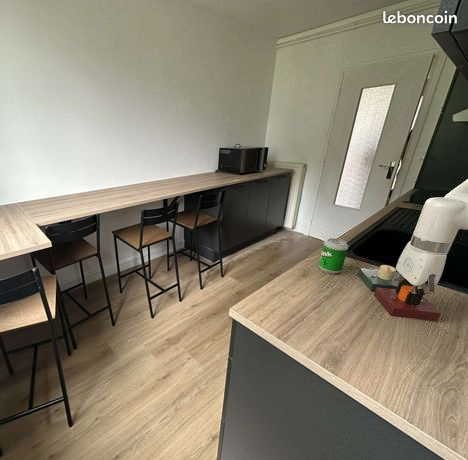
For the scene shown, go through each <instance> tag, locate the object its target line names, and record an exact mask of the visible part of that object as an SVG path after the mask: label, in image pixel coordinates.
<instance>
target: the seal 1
mask: <svg viewBox="0 0 468 460" xmlns="http://www.w3.org/2000/svg"><path fill="white" fill-rule="evenodd" d="M378 270H379V272H378V275H377V276H378V277H379V278H381V279H384V280H392V279H393V277H394V274H395V271H396V272H397V270H396V267H393V266H392V265H387V264H382V265H380V266H379V269H378Z"/></svg>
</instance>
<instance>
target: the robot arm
mask: <svg viewBox="0 0 468 460" xmlns="http://www.w3.org/2000/svg"><path fill="white" fill-rule="evenodd" d="M459 230H464V231H465V230H466V231H468V179H466V180H465V181H463V182H462V183H461V184H459V185H457V186H456V187H455V188H454V189H451V191H450V192H449V193H447V194H446V195H445V196H444V197H443V196H441V197H440V196H439V197H438V196H437V197H430V198H428V199H427V200H426V201H425V203H424V205H423V207H422V209H421V212H420V214H419V218H418V220H417V223H416V226H415V227H414V231H413V233H412V236H411V238H410V241H408V242H407V244H406V246H405V247H404V248H403V250H402V252H401V254H400V256H399V257H398V260H397V263H396V266H395V269H396V272H397V273H398V274H399V275H400V278H399V281H400V282H399V284H398V286H397V289H396V291H395V292H396V293H397V294H399V292H400V289H401V287H402V286H403V285H407V286H412V290H411V292H409V293H408V295H407V297H406V300H405V303H406V304H410V305H419V304H420V302H421V300H422V297H424V296H426V295H435V293H436V288H435V287H436V286H437V285H438V283H439V281H440V279H441V277H442V275H443V272H444V269H445V265H446V261H447V255H448V254H449V251H450V250H451V247H452V245H453V243H454V241H455V238H456V236H457V234H458V231H459ZM419 287H421V288H419Z"/></svg>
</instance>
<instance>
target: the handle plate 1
mask: <svg viewBox="0 0 468 460" xmlns="http://www.w3.org/2000/svg"><path fill="white" fill-rule="evenodd" d="M378 272H379V269H374V268H365V267H363V268H362V267H359V269H358V272H357V276H358V278H359V279H360V280H361V281H362V282H363V284H364V286H366V288H367V289H368V290H369V291H370V292H374V293H375V290H376V288H386V289H397V286H398V284H399V282H400V281H399V278H400V273H399V272H398V271H397V270H396V271H395V274H394V277H393V279H392V280H384V279H381V278H379V277H378V276H377V275H378Z"/></svg>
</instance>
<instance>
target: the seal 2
mask: <svg viewBox="0 0 468 460" xmlns="http://www.w3.org/2000/svg"><path fill="white" fill-rule="evenodd" d="M411 290H412V286H407V285H403V286H402V287H401V289H400V292H399V294H398V298H399V299H400V300H402V301H404V302H405V300H406V297H407V295H408V293H409V292H411Z"/></svg>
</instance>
